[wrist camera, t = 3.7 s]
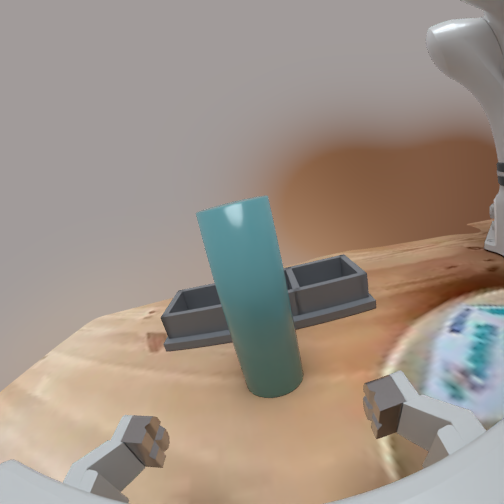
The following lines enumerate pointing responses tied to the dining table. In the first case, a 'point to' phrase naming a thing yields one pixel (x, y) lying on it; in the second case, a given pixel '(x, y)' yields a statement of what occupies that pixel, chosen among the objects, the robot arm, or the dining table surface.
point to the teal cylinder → (253, 293)
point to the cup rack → (300, 294)
